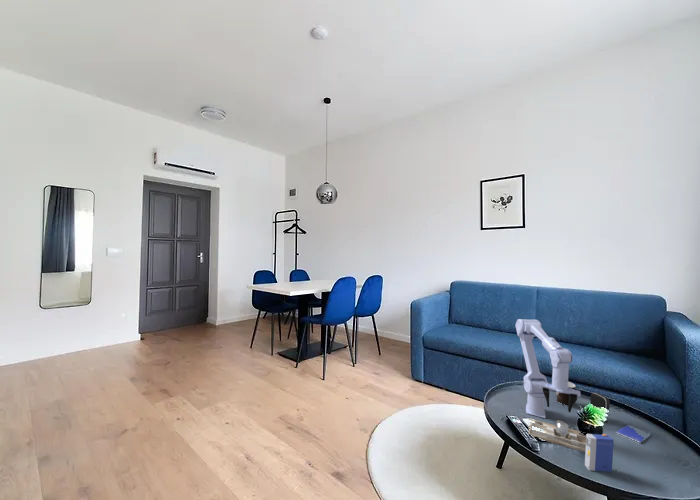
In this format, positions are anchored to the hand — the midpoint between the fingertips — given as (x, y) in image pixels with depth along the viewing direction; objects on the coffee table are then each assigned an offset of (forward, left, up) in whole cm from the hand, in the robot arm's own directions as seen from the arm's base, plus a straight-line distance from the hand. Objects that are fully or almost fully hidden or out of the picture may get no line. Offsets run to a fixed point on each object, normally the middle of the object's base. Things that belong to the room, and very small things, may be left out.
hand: (558, 408), depth 138 cm
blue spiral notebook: (-16, +29, -11) cm, 34 cm away
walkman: (+20, +11, -10) cm, 25 cm away
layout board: (+4, +1, -10) cm, 11 cm away
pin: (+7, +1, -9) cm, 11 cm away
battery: (-23, +18, -10) cm, 31 cm away
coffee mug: (-31, +5, -10) cm, 33 cm away
